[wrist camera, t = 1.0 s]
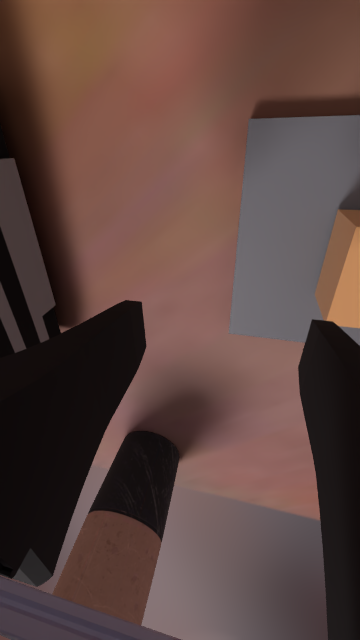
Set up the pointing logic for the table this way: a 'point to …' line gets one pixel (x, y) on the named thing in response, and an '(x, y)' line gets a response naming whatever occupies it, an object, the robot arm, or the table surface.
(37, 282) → the game console
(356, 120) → the fader panel
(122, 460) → the travel mug
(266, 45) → the table surface
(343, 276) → the fader knob
